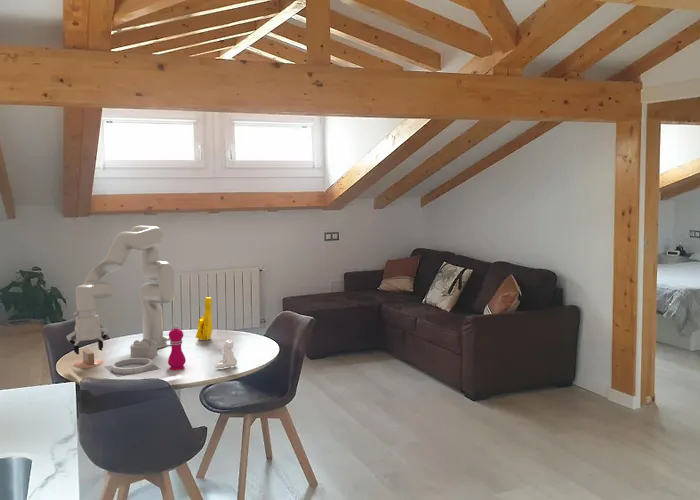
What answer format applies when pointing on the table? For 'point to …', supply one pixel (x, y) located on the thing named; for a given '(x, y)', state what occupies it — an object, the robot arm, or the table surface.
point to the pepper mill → (176, 350)
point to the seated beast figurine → (227, 356)
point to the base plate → (131, 366)
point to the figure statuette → (205, 322)
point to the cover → (88, 360)
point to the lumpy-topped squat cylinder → (144, 349)
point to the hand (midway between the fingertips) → (88, 351)
